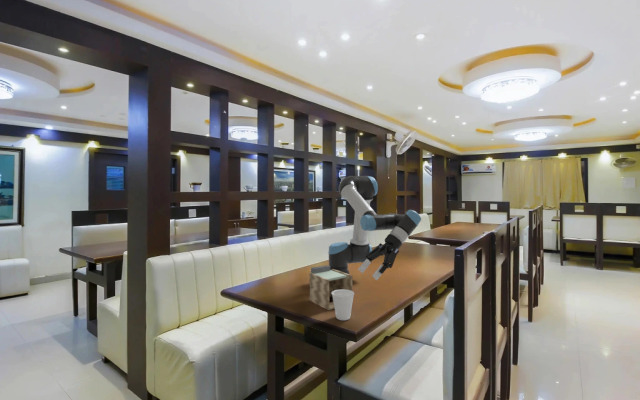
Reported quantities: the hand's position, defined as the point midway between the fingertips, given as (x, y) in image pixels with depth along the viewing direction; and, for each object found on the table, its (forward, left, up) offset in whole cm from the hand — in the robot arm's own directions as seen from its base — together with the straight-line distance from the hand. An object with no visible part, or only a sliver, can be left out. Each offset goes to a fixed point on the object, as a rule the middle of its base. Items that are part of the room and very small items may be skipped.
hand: (366, 274), depth 140 cm
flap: (-25, -4, -5) cm, 26 cm away
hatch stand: (-22, -4, -18) cm, 29 cm away
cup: (-3, -11, -18) cm, 21 cm away
